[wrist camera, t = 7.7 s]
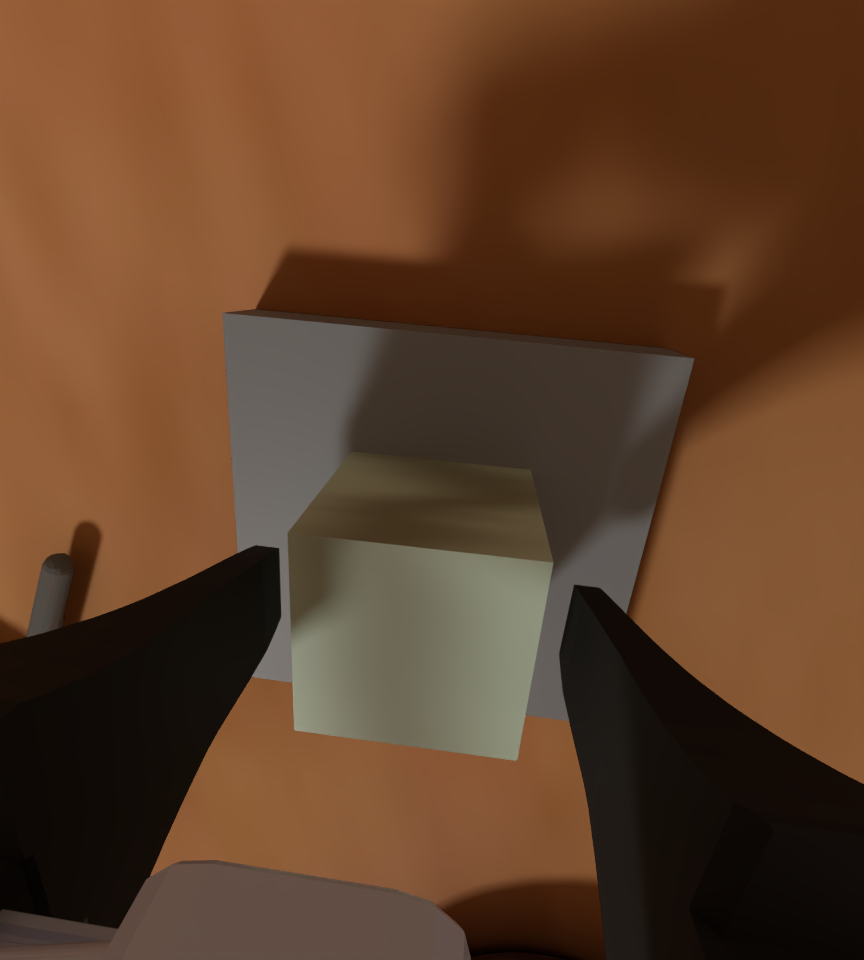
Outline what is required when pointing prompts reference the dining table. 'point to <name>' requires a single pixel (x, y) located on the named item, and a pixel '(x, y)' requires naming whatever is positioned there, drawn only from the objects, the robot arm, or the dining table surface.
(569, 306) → the dining table surface
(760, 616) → the dining table surface
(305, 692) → the cube
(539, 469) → the stand
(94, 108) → the dining table surface
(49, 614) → the walkie-talkie
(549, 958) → the dish
